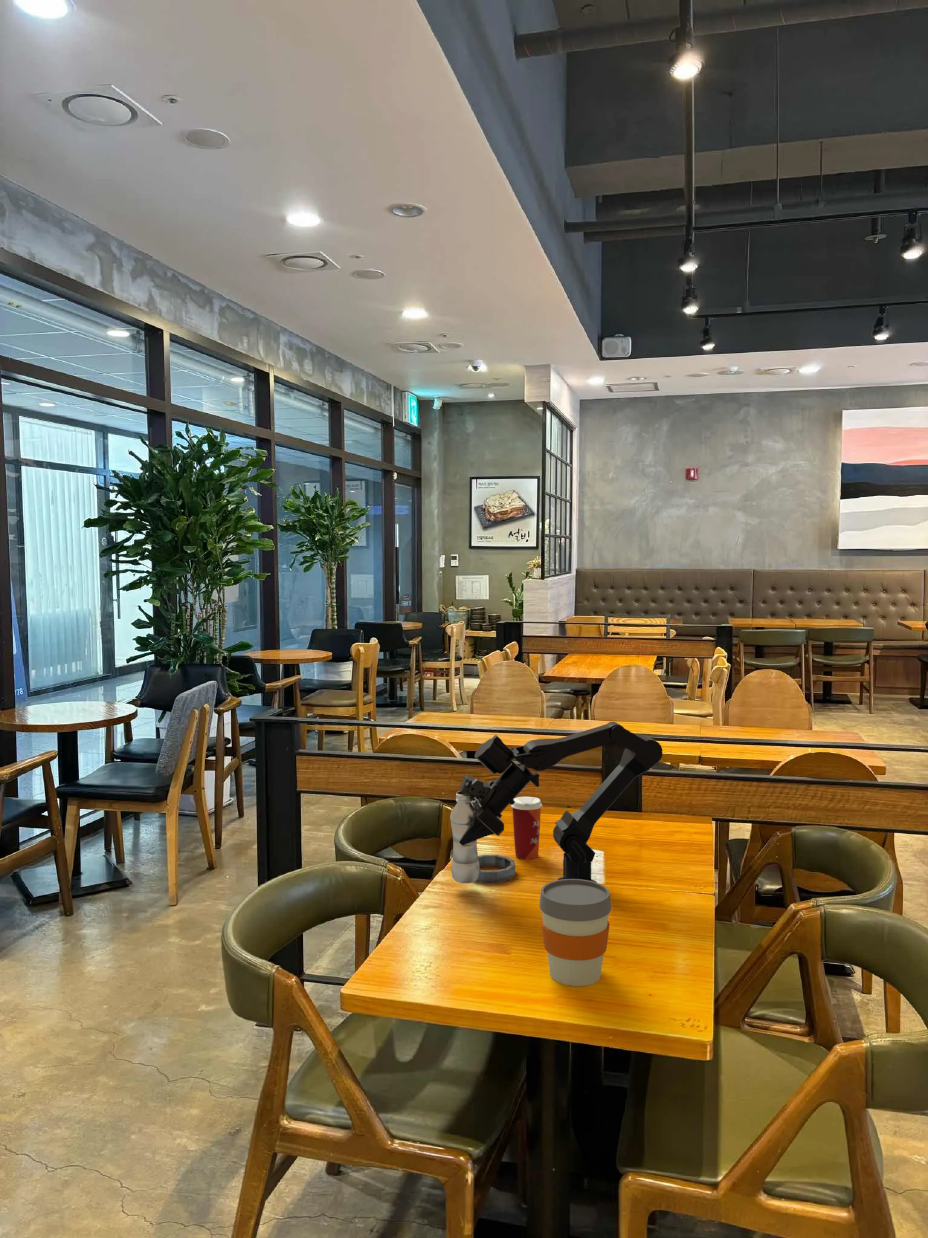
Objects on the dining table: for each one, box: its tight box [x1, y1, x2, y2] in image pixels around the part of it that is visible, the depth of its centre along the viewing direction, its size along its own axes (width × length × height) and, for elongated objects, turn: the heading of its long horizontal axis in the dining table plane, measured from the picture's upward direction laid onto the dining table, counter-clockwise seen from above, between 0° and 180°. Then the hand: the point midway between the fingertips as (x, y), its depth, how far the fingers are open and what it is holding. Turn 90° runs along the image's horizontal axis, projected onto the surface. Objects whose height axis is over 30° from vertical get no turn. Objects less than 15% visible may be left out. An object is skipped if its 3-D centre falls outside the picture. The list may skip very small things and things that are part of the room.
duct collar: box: [476, 854, 516, 884], centre depth 205 cm, size 12×12×2 cm
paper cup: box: [510, 796, 543, 861], centre depth 217 cm, size 8×8×14 cm
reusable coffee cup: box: [538, 879, 612, 987], centre depth 155 cm, size 13×13×15 cm
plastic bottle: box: [449, 790, 481, 884], centre depth 194 cm, size 6×7×20 cm
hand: (458, 839), depth 194 cm, fingers closed on plastic bottle, 6 cm apart
